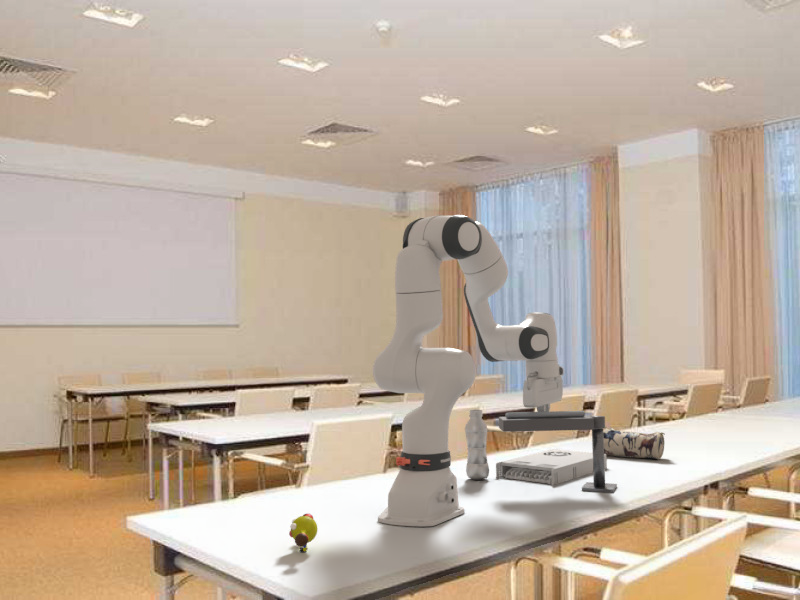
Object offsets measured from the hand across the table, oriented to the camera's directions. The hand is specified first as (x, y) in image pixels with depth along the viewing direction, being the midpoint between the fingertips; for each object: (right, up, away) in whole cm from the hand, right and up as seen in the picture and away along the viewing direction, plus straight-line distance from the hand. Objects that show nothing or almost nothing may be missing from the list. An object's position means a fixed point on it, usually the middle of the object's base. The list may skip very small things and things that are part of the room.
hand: (543, 421), depth 206 cm
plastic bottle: (-17, -19, +10) cm, 28 cm away
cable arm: (+1, -1, -6) cm, 6 cm away
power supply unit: (+6, -20, +19) cm, 28 cm away
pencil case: (+38, -20, +43) cm, 61 cm away
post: (+14, -17, -6) cm, 23 cm away
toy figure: (-59, -16, -59) cm, 85 cm away
